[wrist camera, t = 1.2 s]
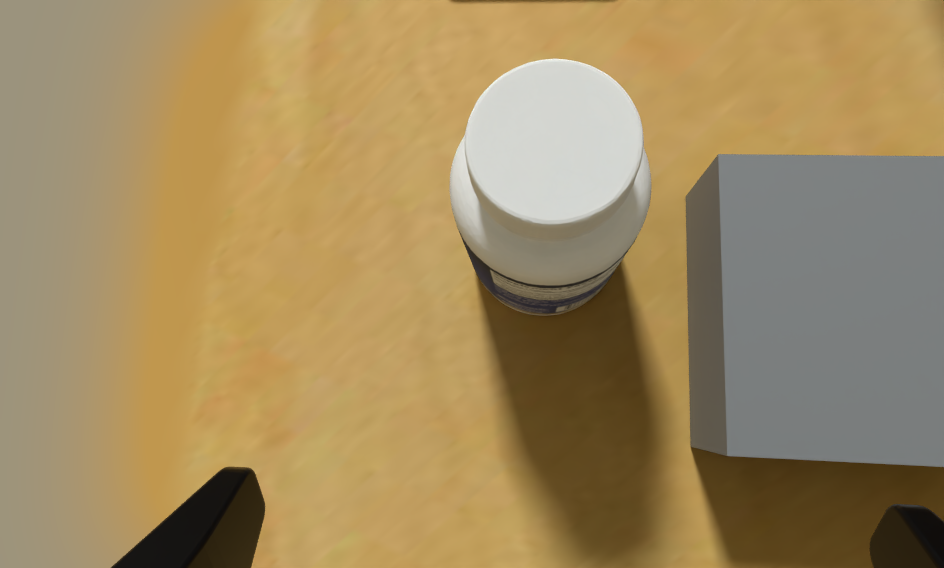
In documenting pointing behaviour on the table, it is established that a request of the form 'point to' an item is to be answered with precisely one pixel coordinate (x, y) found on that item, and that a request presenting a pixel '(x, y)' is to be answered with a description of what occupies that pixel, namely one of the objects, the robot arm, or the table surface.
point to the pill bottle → (550, 184)
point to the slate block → (817, 308)
